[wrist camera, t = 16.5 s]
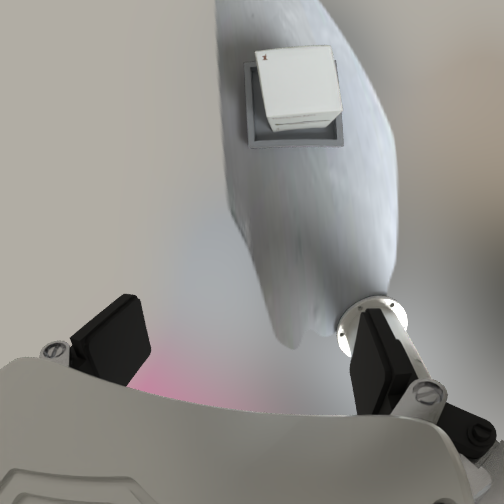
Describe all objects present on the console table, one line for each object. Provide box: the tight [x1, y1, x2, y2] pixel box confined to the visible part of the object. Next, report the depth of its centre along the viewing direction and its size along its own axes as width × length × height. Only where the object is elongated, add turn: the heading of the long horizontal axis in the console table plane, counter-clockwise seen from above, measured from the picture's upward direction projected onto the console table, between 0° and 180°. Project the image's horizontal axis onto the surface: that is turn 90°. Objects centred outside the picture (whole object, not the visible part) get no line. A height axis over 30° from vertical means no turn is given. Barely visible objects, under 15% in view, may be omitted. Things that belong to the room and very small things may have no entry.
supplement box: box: [255, 45, 343, 132], centre depth 26 cm, size 7×7×13 cm
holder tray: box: [244, 60, 344, 149], centre depth 32 cm, size 12×12×3 cm
